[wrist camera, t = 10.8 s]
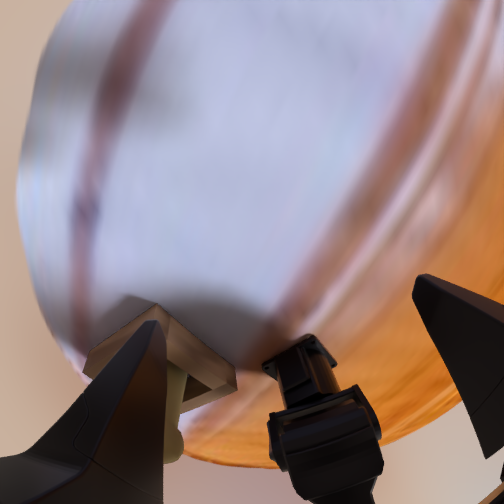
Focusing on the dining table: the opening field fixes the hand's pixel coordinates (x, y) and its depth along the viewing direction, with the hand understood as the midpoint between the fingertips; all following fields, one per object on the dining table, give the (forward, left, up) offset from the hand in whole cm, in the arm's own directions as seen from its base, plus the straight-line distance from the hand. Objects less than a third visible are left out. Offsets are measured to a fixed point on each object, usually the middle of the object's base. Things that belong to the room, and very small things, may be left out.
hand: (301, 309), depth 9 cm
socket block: (-8, +17, -12) cm, 22 cm away
